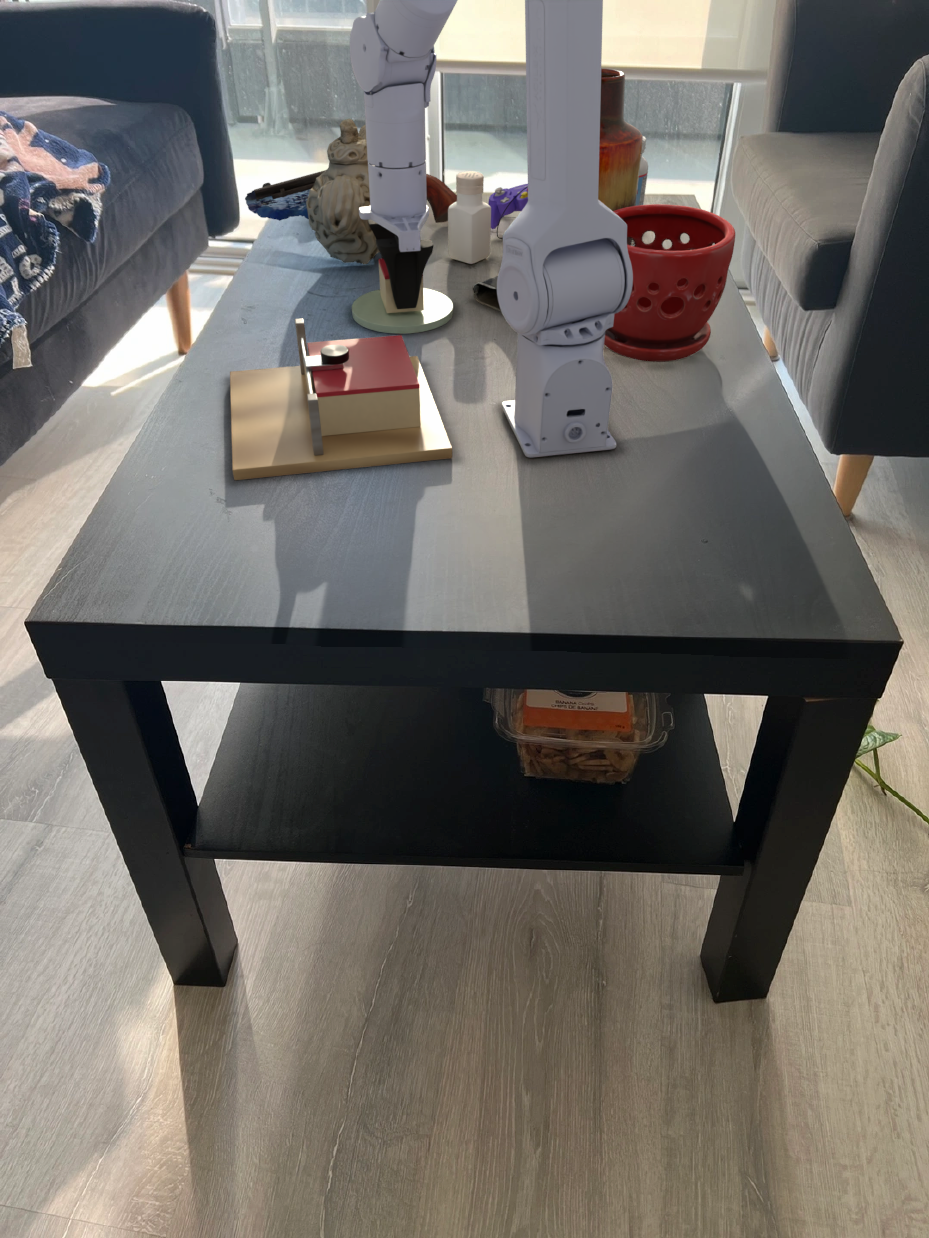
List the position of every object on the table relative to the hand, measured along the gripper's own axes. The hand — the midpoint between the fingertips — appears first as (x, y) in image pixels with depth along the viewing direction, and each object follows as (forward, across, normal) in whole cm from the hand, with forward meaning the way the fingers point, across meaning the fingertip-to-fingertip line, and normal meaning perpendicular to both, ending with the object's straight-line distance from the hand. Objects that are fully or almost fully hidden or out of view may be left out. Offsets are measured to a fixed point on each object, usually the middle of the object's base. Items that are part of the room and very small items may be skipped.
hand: (402, 297), depth 100 cm
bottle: (+2, -21, +32) cm, 38 cm away
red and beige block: (+1, +22, -7) cm, 23 cm away
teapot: (+2, -18, -2) cm, 18 cm away
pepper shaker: (+2, -15, +10) cm, 18 cm away
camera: (+2, +1, +12) cm, 13 cm away
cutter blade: (0, +22, -10) cm, 24 cm away
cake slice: (+1, 0, 0) cm, 1 cm away
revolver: (+3, -27, 0) cm, 27 cm away
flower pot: (+2, +13, +24) cm, 27 cm away
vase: (+2, -10, +24) cm, 26 cm away
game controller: (+2, -24, +19) cm, 31 cm away
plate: (+2, 0, 0) cm, 2 cm away
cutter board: (+2, +22, -10) cm, 24 cm away
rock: (-4, -39, -4) cm, 39 cm away
